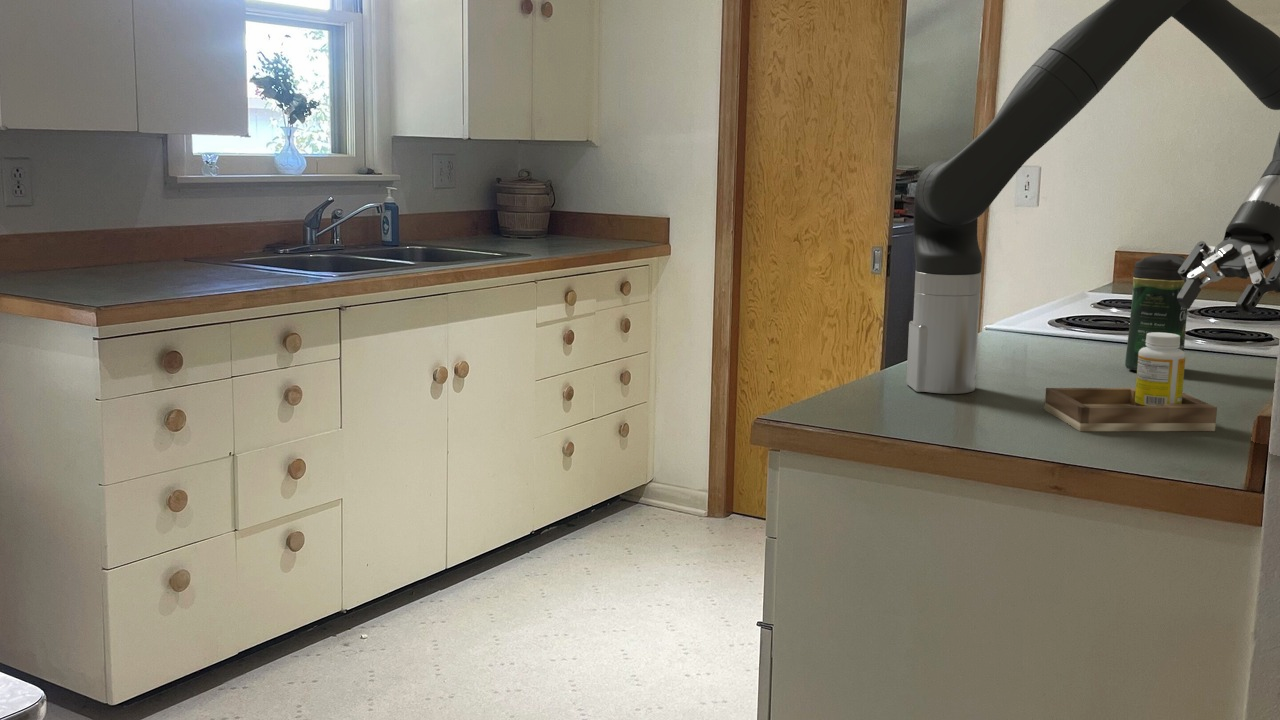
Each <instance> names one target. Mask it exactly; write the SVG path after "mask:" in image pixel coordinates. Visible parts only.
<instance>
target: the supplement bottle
mask: <svg viewBox="0 0 1280 720" xmlns="http://www.w3.org/2000/svg"><path fill="white" fill-rule="evenodd" d="M1145 342H1146V346H1147V347H1144V348H1141V349H1140V350H1139V353H1138V366H1137V371H1136V382H1135V383H1136V384H1135V388H1136V393H1135V406H1162V404H1182V393H1184V392H1183V389H1184V377H1185V365H1186V353H1185V350H1184V351H1182V350H1180V349H1178V348H1179V347H1180V335H1177V334H1172V333H1161V332H1152V333H1147V335H1146V341H1145Z"/></svg>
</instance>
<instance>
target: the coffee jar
mask: <svg viewBox="0 0 1280 720" xmlns="http://www.w3.org/2000/svg"><path fill="white" fill-rule="evenodd" d="M1186 259H1187V258H1185V256H1183V255H1178V254H1170V253H1162V254H1156V255H1151V256H1146V257H1143V258H1142V259H1140V260H1137V261H1136V262H1135V263H1134V269H1133V274H1132V276H1133V277H1132V292H1131V293H1132V296H1131V305H1130V307H1131V308H1130V314H1129V316H1130V317H1129V325H1128V326H1129V327H1128V336H1127V342H1126V343H1127V344H1126V345H1127V346H1126V352H1125V353H1126V354H1125V361H1124V362H1125V364H1124V365H1125V368H1126V369H1127V370H1131V371H1136V372H1137V366H1138V353H1139V350H1140V349H1141V348H1144V347H1147V346H1146V342H1145V341H1146V335H1147V333H1152V332H1161V333H1172V334H1177V335H1180V347H1179V348H1178V349H1180V350H1182V351H1184V352H1185V341H1186V329H1187V319H1188V309H1184V308H1182V307H1181V305H1180V304H1179V302H1178V299H1177V295H1178V294H1179V292H1180V290H1181V289H1182V287H1183V286H1184V284H1185V282H1184V280H1183V279H1182V277H1181V276H1180V274H1179V273H1178V270H1179V268H1180V267H1181V266H1182V264H1183V263H1184V261H1185V260H1186ZM1190 270H1191V268H1190ZM1190 270H1189V271H1190Z"/></svg>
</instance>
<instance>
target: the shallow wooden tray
mask: <svg viewBox="0 0 1280 720" xmlns="http://www.w3.org/2000/svg"><path fill="white" fill-rule="evenodd" d="M1135 393H1136V387H1046V388H1045V399H1044V410H1045V411H1046V412H1048V413H1049V412H1050V413H1049V414H1051V415H1052V414H1053V415H1052V416H1054V417H1056V418H1057V417H1058V418H1057V419H1059V420H1060V421H1062V422H1064V423H1065V424H1067V423H1068V424H1067V425H1069V426H1070V425H1071V426H1070V427H1072V428H1074V429H1075V430H1077V431H1078V432H1215V431H1216V425H1217V423H1216V422H1217V414H1218V413H1217V412H1218V407H1217V406H1214V405H1213V404H1211V403H1208V402H1205V401H1204V400H1200V399H1199V398H1196V397H1193V396H1191V395H1189V394H1187V393H1185V392H1182V404H1162V406H1135Z"/></svg>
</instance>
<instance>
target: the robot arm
mask: <svg viewBox="0 0 1280 720" xmlns="http://www.w3.org/2000/svg"><path fill="white" fill-rule="evenodd" d="M1171 18H1173V19H1174V20H1175V21H1177V22H1178V23H1179V24H1181V25H1182V26H1183V28H1186V29H1187V30H1188V31H1189V32H1190V33H1191V34H1192V35H1194V36H1195V37H1196V38H1197V39H1198V40H1200V42H1202V43H1203V44H1204V45H1205V46H1206V47H1207V48H1209V49H1210V50H1211V51H1212V52H1213V53H1214V54H1215V55H1216V56H1217V57H1218V58H1219V59H1220V60H1221V61H1222V62H1223V63H1224V64H1225V65H1226V66H1227V67H1228V68H1229V69H1230V71H1232V72H1233V73H1234V75H1236V77H1237V78H1238V79H1239V80H1240V81H1241V82H1242V83H1243V84H1244V85H1245V87H1247V88H1248V89H1249V91H1250V93H1253V95H1254V96H1255V97H1256V98H1257V99H1258V100H1259V102H1261V103H1262V104H1263V106H1265V107H1266V108H1267V109H1269V110H1273V111H1280V36H1279V35H1277V33H1275V32H1274V31H1272V30H1271V29H1270V28H1268V27H1266V26H1265V25H1264V24H1262V23H1261V22H1259V21H1257V20H1256V19H1254V18H1253V17H1251V16H1250V15H1248V14H1247V13H1245V12H1243V11H1242V10H1240V8H1238V7H1237V6H1235V5H1234V4H1233V3H1231V2H1230V1H1229V0H1108V1H1107V2H1105V4H1103V5H1102V6H1100V7H1098V9H1096V10H1095V11H1093V12H1092V13H1091V14H1090V15H1088V16H1086V17H1085V18H1084V19H1082V20H1081V21H1080V22H1078V23H1077V24H1076V25H1075V26H1073V27H1072V28H1071V29H1069V30H1068V31H1067V32H1066V33H1065V34H1063V35H1062V36H1060V38H1059V39H1057V40H1056V41H1055V42H1054V43H1053V44H1051V46H1050V47H1049V48H1047V49H1046V51H1045V52H1043V54H1041V55H1040V57H1038V59H1037V60H1035V62H1034V63H1033V64H1032V65H1030V67H1029V68H1028V70H1027V71H1026V72H1024V73H1023V75H1022V76H1021V77H1020V78H1019V79H1018V81H1017V82H1016V84H1015V86H1013V88H1012V90H1011V91H1010V92H1009V94H1008V96H1007V97H1006V99H1005V101H1004V102H1003V104H1002V106H1001V107H1000V108H999V110H998V112H997V114H996V115H995V117H994V118H992V120H991V122H990V123H989V124H988V125H987V126H986V128H984V130H983V131H981V133H979V134H978V135H977V137H975V138H974V139H973V140H972V141H971V142H970V143H968V145H966V146H965V147H964V148H963V149H962V150H961V151H959V152H958V153H957V154H956V155H954V156H953V157H952V158H948V159H947V158H946V159H941V160H938V161H935V162H933V163H931V164H930V165H928V166H927V167H926V168H925V169H924V170H923V171H922V172H921V174H920V175H919V177H918V179H917V182H916V185H915V192H914V201H913V202H914V204H913V239H912V240H913V241H912V242H913V250H914V257H915V275H914V277H915V278H914V292H913V293H914V294H913V296H914V297H913V315H912V316H913V319H912V320H910V321H909V323H908V341H907V342H908V344H907V361H906V362H907V364H906V365H907V366H906V382H905V383H906V384H907V385H908V386H909V387H910V388H911V389H912V390H914V392H917V393H918V392H919V393H922V392H923V393H924V392H926V393H932V394H933V393H934V394H946V395H947V394H948V395H949V394H950V395H951V394H953V395H955V394H966V393H972V392H974V391H975V389H976V388H975V387H976V378H977V373H976V372H977V355H978V339H979V338H978V337H979V319H980V305H981V303H980V301H981V286H982V284H981V283H982V268H983V265H982V264H983V255H982V252H981V249H980V245H979V241H978V223H979V221H978V219H979V218H980V217H981V216H982V215H983V214H984V213H985V212H986V211H987V210H988V208H989V207H990V206H991V205H992V203H993V202H994V201H995V200H996V198H997V197H998V196H999V195H1000V193H1001V192H1002V191H1003V189H1004V188H1005V187H1006V186H1007V185H1008V184H1009V182H1010V181H1011V180H1012V179H1013V177H1014V176H1015V175H1016V174H1017V173H1018V171H1019V170H1020V169H1021V168H1022V166H1023V165H1024V164H1025V163H1026V162H1027V161H1028V160H1029V159H1030V158H1031V157H1032V156H1033V155H1034V154H1035V153H1036V152H1038V151H1039V150H1040V149H1041V148H1042V147H1044V146H1045V145H1046V144H1047V143H1048V142H1049V141H1051V140H1052V138H1053V137H1055V136H1056V135H1057V134H1058V133H1059V132H1060V131H1061V130H1062V129H1063V128H1064V127H1065V126H1066V125H1067V124H1068V123H1070V121H1071V120H1073V119H1074V118H1075V117H1076V116H1077V115H1079V113H1080V112H1081V111H1082V110H1083V109H1084V108H1085V107H1086V106H1087V105H1088V104H1089V103H1090V102H1091V101H1092V100H1093V99H1094V98H1095V97H1096V96H1097V95H1098V94H1099V93H1100V91H1102V89H1104V87H1106V85H1107V84H1108V83H1110V81H1111V79H1112V78H1113V77H1114V76H1115V75H1116V74H1117V73H1118V72H1119V71H1120V70H1121V69H1123V67H1124V66H1125V65H1126V64H1127V63H1128V61H1130V59H1131V58H1132V57H1133V56H1134V54H1135V53H1136V52H1137V51H1138V50H1139V49H1140V47H1141V46H1143V44H1144V43H1145V42H1146V41H1147V40H1148V39H1149V38H1150V37H1151V36H1152V34H1153V33H1155V31H1157V30H1158V28H1160V27H1161V26H1162V25H1164V23H1165V22H1167V21H1168V20H1169V19H1171ZM1185 259H1186V260H1185V261H1184V263H1183V264H1182V266H1181V267H1180V268H1179V270H1178V273H1179V274H1180V276H1181V277H1182V279H1183V280H1184V282H1185V284H1184V286H1183V287H1182V289H1181V290H1180V292H1179V294H1178V295H1177V299H1178V302H1179V304H1180V305H1181V307H1182V308H1184V309H1187V310H1189V309H1190V308H1191V307H1192V305H1193V303H1194V302H1195V301H1196V299H1197V297H1198V295H1199V294H1200V292H1201V291H1202V288H1203V287H1205V286H1207V285H1208V284H1210V283H1211V282H1214V283H1216V282H1218V281H1220V280H1222V279H1224V278H1231V279H1232V278H1239V279H1243V280H1244V279H1246V280H1247V279H1248V278H1250V280H1251V283H1252V284H1251V283H1250V284H1247V286H1246V287H1245V289H1244V290H1243V292H1242V294H1241V295H1240V297H1239V298H1238V300H1237V302H1236V304H1235V308H1236V310H1237V311H1238V313H1239V315H1241V316H1248V315H1249V314H1250V313H1252V312H1253V311H1254V310H1255V309H1256V307H1257V305H1258V303H1260V301H1261V299H1262V298H1263V296H1264V295H1267V294H1268V293H1269V292H1275V293H1280V131H1279V133H1278V135H1277V139H1276V143H1275V146H1274V150H1273V154H1272V159H1271V160H1270V163H1269V164H1268V165H1267V167H1266V168H1265V170H1264V172H1263V173H1262V175H1261V177H1260V178H1259V180H1258V181H1257V182H1256V184H1254V186H1253V187H1252V188H1251V190H1249V192H1248V193H1247V195H1246V196H1245V198H1244V200H1243V201H1242V203H1241V204H1240V206H1239V208H1238V209H1237V211H1236V212H1235V214H1234V216H1233V217H1232V218H1231V220H1230V221H1229V223H1228V225H1227V227H1226V229H1225V232H1224V237H1223V240H1222V241H1221V242H1220V243H1218V244H1217V245H1216V246H1212V245H1207V243H1206V241H1204V240H1200V241H1199V242H1197V243H1196V244H1195V246H1194V248H1193V249H1192V250H1191V252H1190V253H1189V255H1188V256H1187V257H1186V258H1185ZM1272 264H1273V265H1272ZM1214 265H1216V268H1217V271H1214V270H1213V266H1214ZM1271 265H1272V268H1271V270H1270V272H1269V273H1268V275H1267V276H1266V274H1265V271H1264V269H1266V268H1268V267H1269V266H1271ZM1190 268H1191V270H1190ZM1189 270H1190V271H1189ZM1205 273H1206V275H1204V274H1205ZM1201 276H1202V277H1201ZM1200 277H1201V278H1200Z"/></svg>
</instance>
